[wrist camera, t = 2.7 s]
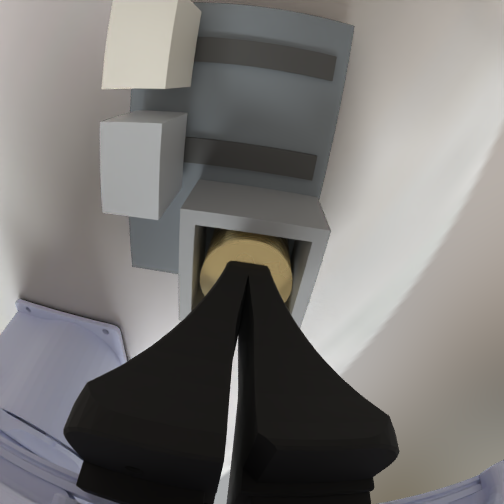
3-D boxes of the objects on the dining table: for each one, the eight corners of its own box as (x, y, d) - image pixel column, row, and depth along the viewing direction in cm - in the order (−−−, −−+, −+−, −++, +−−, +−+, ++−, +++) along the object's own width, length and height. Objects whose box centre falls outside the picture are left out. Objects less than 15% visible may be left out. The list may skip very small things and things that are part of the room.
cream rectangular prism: (139, 85, 10) (101, 89, 7) (149, 12, 8) (114, -5, 6) (190, 86, 10) (165, 88, 7) (201, 11, 8) (179, -11, 6)
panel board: (142, 250, 16) (108, 306, 12) (155, 11, 10) (108, -13, 6) (292, 272, 16) (299, 336, 12) (344, 31, 10) (381, 10, 6)
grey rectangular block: (135, 182, 12) (102, 212, 9) (137, 110, 10) (100, 121, 8) (181, 187, 12) (158, 220, 9) (187, 112, 10) (161, 123, 8)
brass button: (209, 267, 14) (197, 311, 11) (216, 201, 12) (202, 237, 10) (279, 277, 14) (282, 323, 12) (294, 213, 12) (301, 251, 10)
